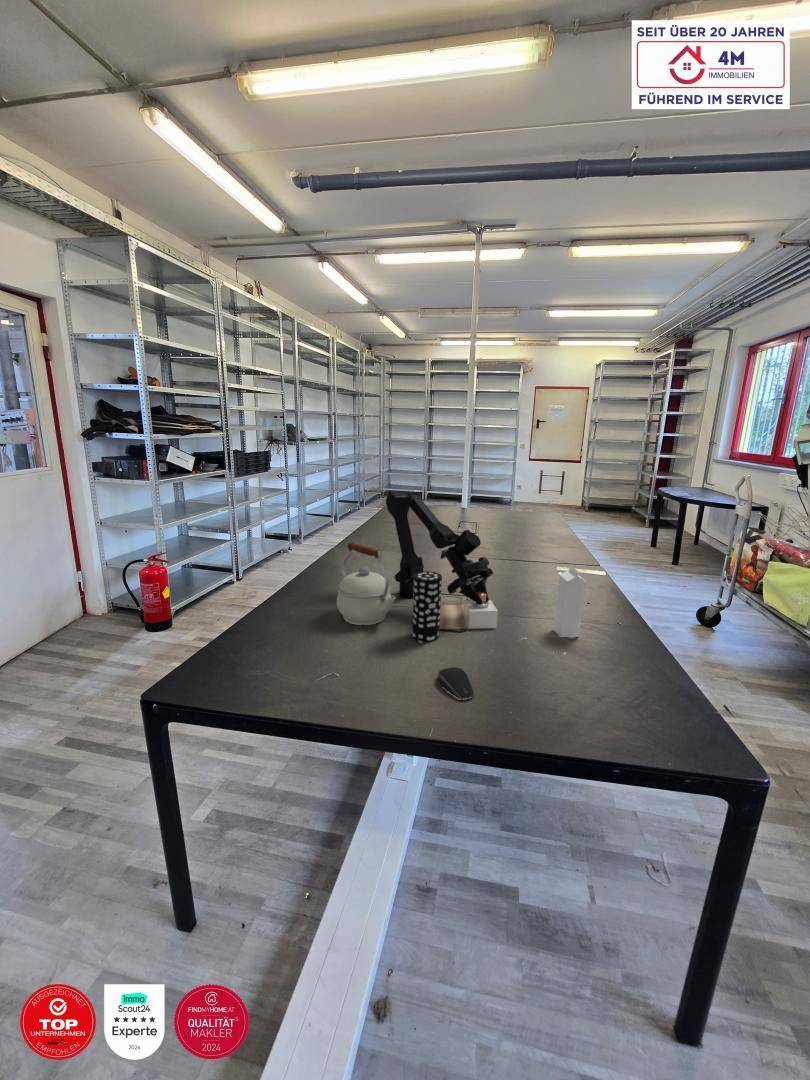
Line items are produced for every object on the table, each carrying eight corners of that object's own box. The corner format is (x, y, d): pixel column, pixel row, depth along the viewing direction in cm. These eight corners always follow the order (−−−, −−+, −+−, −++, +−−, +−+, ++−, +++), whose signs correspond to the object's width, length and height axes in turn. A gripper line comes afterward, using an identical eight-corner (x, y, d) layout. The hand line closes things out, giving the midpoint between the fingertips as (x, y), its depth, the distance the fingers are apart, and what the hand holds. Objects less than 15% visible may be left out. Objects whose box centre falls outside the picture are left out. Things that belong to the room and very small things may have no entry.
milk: (570, 629, 143) (579, 565, 138) (578, 638, 137) (588, 571, 132) (552, 629, 143) (560, 564, 137) (559, 638, 137) (568, 571, 131)
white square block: (468, 628, 141) (470, 611, 139) (463, 616, 150) (464, 600, 148) (496, 628, 142) (497, 610, 140) (489, 616, 150) (490, 599, 149)
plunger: (473, 623, 143) (475, 596, 140) (470, 616, 148) (471, 590, 145) (489, 622, 143) (491, 596, 141) (485, 616, 148) (487, 590, 146)
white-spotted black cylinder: (442, 634, 138) (445, 574, 133) (433, 646, 130) (435, 582, 125) (418, 628, 141) (420, 569, 136) (407, 639, 134) (409, 577, 129)
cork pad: (437, 630, 140) (437, 628, 140) (430, 606, 159) (430, 604, 159) (496, 629, 142) (496, 628, 142) (482, 605, 160) (482, 604, 160)
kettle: (322, 615, 150) (320, 544, 143) (363, 600, 163) (362, 535, 156) (372, 640, 133) (373, 561, 127) (413, 621, 146) (415, 549, 140)
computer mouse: (455, 704, 104) (456, 689, 103) (432, 677, 115) (432, 664, 114) (480, 698, 106) (481, 683, 105) (455, 672, 117) (456, 659, 116)
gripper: (456, 555, 136) (483, 598, 131) (490, 544, 149) (516, 584, 144) (435, 573, 143) (461, 615, 138) (470, 561, 156) (494, 599, 151)
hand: (484, 602), depth 143 cm, fingers closed on plunger, 3 cm apart
